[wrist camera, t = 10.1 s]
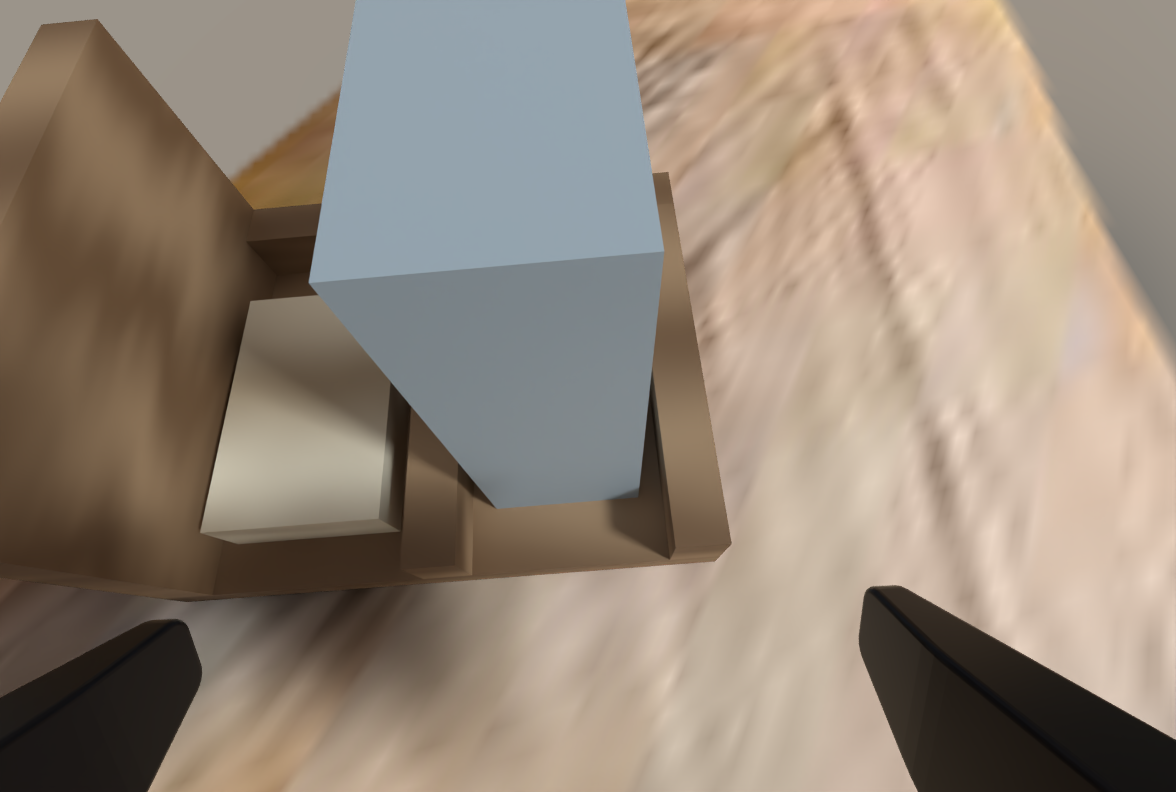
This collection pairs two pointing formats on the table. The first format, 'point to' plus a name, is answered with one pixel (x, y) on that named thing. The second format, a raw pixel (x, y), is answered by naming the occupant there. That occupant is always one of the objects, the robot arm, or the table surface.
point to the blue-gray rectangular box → (500, 235)
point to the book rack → (252, 383)
